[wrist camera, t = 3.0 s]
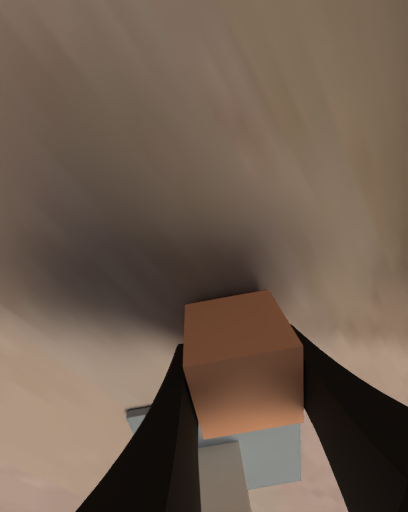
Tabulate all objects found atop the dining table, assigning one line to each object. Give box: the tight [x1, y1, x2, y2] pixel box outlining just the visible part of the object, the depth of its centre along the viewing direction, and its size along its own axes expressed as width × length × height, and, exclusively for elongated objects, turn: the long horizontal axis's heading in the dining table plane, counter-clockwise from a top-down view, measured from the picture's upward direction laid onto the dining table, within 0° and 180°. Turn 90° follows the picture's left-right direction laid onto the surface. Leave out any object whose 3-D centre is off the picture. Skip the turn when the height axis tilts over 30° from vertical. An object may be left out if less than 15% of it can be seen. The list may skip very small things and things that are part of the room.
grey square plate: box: [126, 407, 301, 490], centre depth 18 cm, size 12×12×1 cm
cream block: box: [198, 441, 252, 512], centre depth 16 cm, size 4×4×4 cm
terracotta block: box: [183, 290, 304, 439], centre depth 11 cm, size 4×4×4 cm
